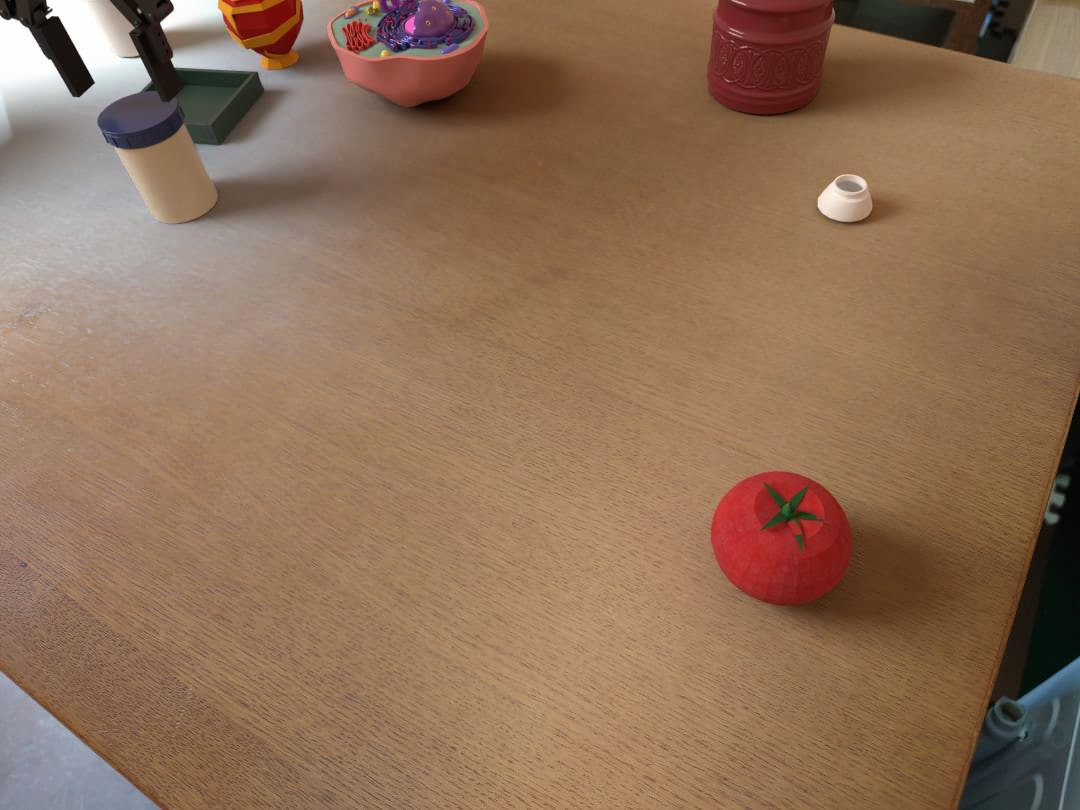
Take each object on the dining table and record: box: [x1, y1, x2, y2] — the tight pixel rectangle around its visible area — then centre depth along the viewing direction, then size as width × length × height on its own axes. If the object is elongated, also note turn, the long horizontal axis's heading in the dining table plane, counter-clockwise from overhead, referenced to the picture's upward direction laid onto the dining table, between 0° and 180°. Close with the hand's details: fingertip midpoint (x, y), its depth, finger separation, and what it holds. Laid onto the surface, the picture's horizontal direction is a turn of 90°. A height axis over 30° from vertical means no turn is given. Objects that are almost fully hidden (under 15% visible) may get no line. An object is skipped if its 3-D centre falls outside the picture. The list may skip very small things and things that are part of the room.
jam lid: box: [96, 91, 185, 149], centre depth 77 cm, size 8×8×2 cm
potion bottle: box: [217, 0, 305, 71], centre depth 98 cm, size 10×10×15 cm
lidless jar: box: [817, 173, 874, 223], centre depth 75 cm, size 5×3×5 cm
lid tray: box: [138, 66, 265, 146], centre depth 96 cm, size 13×12×3 cm
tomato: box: [709, 470, 853, 607], centre depth 50 cm, size 9×9×8 cm
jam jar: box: [112, 123, 219, 225], centre depth 81 cm, size 7×7×10 cm
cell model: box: [326, 0, 490, 108], centre depth 92 cm, size 17×20×11 cm
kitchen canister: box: [706, 0, 836, 115], centre depth 84 cm, size 13×13×18 cm
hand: (127, 92), depth 75 cm, fingers open, 9 cm apart
